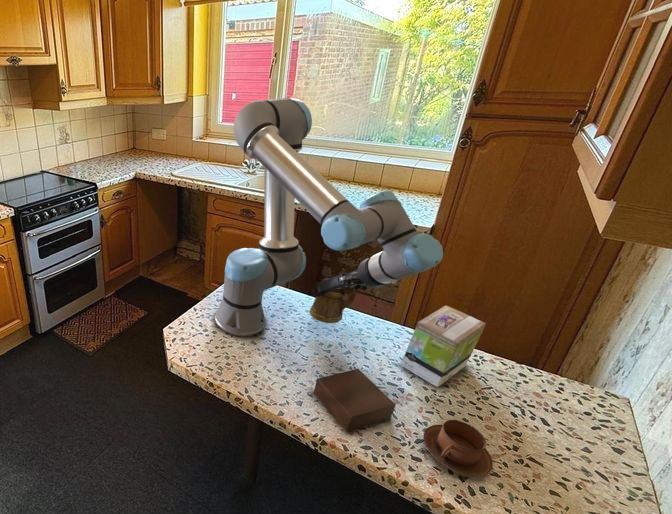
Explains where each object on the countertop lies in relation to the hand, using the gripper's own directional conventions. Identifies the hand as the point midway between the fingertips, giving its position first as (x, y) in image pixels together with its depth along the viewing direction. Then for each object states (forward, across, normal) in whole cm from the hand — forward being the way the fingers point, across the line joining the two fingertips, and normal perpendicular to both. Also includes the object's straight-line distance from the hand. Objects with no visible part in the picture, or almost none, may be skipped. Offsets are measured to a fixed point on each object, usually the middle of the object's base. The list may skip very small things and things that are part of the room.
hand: (330, 290), depth 118 cm
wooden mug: (+3, 0, -8) cm, 9 cm away
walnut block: (-13, -11, -30) cm, 35 cm away
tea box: (-7, +19, -25) cm, 32 cm away
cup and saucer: (-24, +3, -42) cm, 48 cm away
